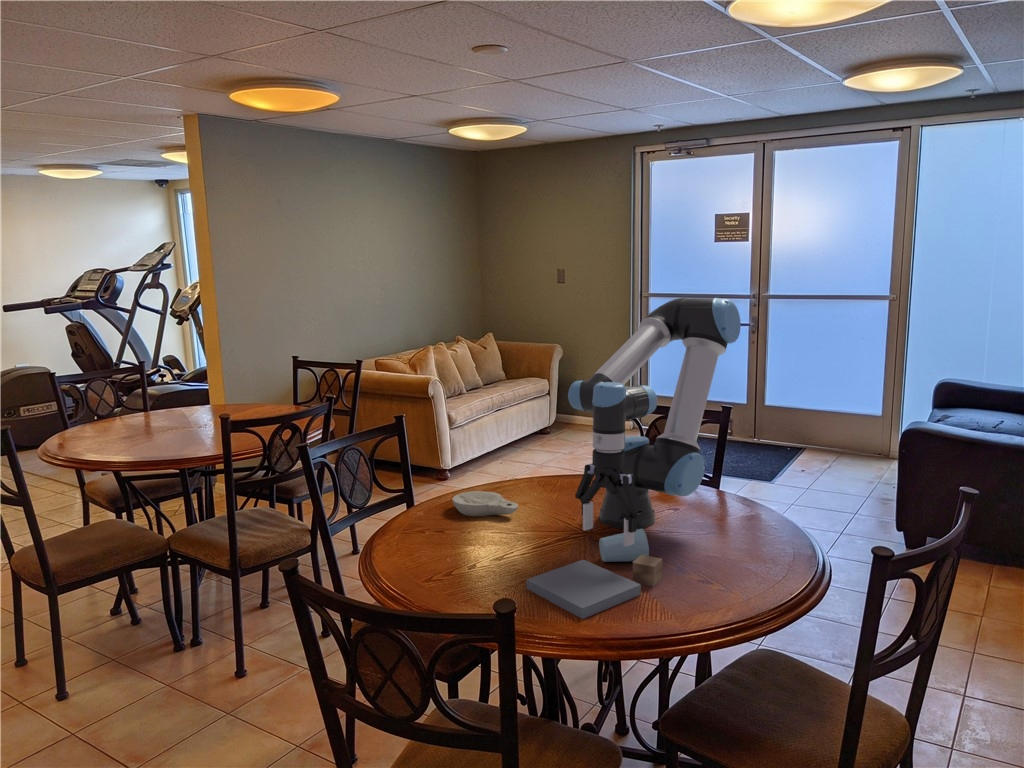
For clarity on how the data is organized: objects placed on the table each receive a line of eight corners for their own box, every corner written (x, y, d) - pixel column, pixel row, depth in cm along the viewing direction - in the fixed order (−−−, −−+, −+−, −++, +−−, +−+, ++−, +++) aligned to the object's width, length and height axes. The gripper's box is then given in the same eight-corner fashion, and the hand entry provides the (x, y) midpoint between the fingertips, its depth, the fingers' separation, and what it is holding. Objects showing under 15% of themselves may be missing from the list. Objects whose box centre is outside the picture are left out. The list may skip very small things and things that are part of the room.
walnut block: (632, 583, 165) (632, 562, 164) (641, 575, 169) (641, 554, 168) (653, 588, 162) (653, 566, 161) (662, 579, 166) (662, 558, 165)
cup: (598, 553, 180) (639, 547, 181) (605, 573, 173) (648, 567, 174) (597, 527, 177) (640, 522, 178) (605, 547, 170) (649, 541, 171)
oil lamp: (531, 513, 212) (531, 497, 211) (504, 529, 200) (503, 511, 199) (472, 502, 223) (471, 486, 222) (443, 516, 211) (442, 499, 211)
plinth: (526, 590, 162) (526, 579, 162) (583, 569, 172) (583, 559, 172) (582, 620, 148) (582, 608, 148) (640, 595, 158) (640, 584, 158)
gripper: (561, 442, 179) (561, 526, 182) (637, 462, 160) (636, 555, 163) (583, 437, 184) (583, 520, 187) (660, 456, 164) (658, 547, 167)
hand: (607, 536), depth 175 cm, fingers open, 13 cm apart
